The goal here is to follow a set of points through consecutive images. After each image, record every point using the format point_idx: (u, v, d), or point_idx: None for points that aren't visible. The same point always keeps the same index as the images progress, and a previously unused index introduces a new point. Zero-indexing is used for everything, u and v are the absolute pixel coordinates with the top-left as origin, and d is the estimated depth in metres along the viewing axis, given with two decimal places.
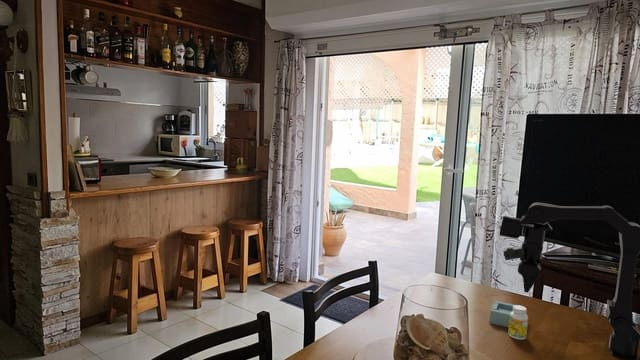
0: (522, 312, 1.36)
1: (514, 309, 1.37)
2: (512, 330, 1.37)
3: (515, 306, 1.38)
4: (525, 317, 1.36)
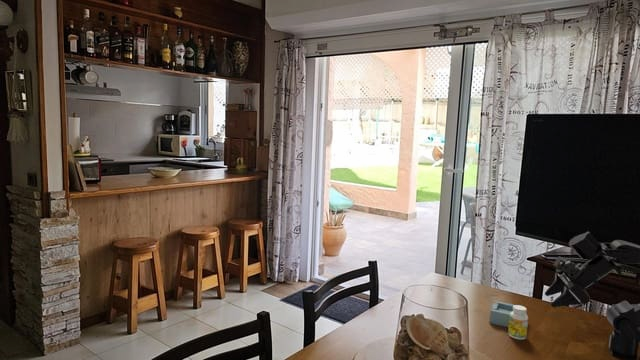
0: (522, 312, 1.36)
1: (514, 309, 1.37)
2: (512, 330, 1.37)
3: (515, 306, 1.38)
4: (525, 317, 1.36)
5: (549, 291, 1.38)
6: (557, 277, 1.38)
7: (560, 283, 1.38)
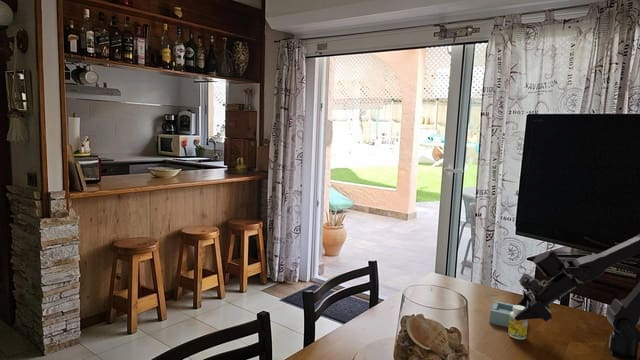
0: None
1: (514, 309, 1.37)
2: (512, 330, 1.37)
3: (515, 306, 1.38)
4: None
5: None
6: (524, 295, 1.40)
7: (527, 301, 1.40)
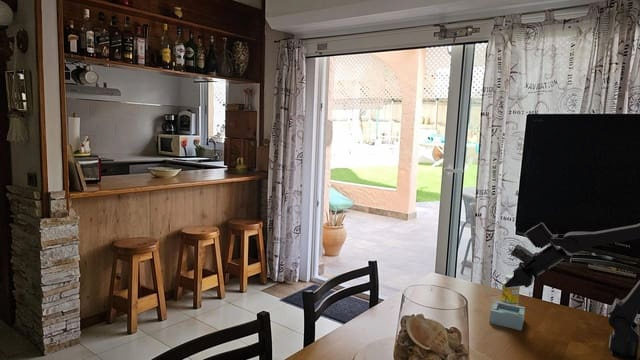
0: None
1: (505, 277, 1.47)
2: (503, 297, 1.47)
3: (508, 275, 1.47)
4: None
5: None
6: (519, 266, 1.48)
7: None
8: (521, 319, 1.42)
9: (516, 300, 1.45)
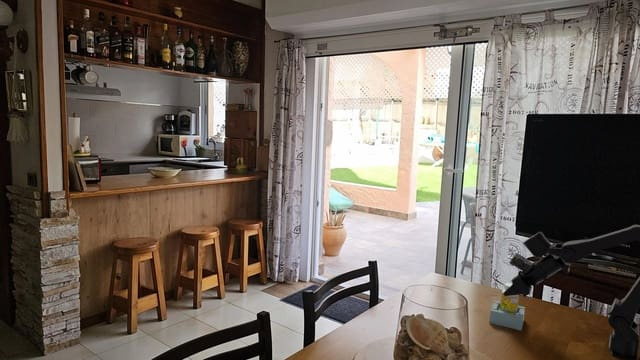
0: None
1: (504, 286, 1.48)
2: (502, 305, 1.48)
3: (507, 283, 1.49)
4: None
5: None
6: (518, 274, 1.49)
7: None
8: (521, 319, 1.42)
9: (515, 309, 1.46)
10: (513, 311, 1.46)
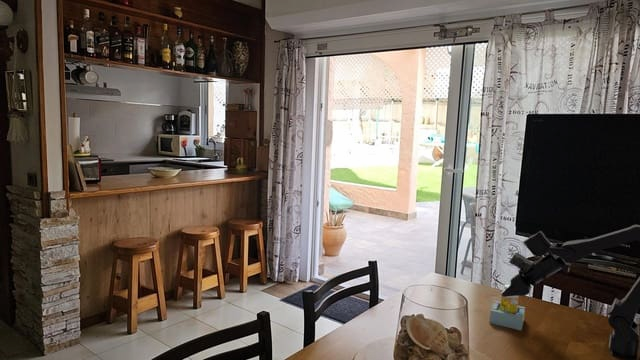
0: None
1: (504, 287, 1.48)
2: (501, 306, 1.48)
3: (507, 285, 1.49)
4: None
5: None
6: (519, 272, 1.50)
7: None
8: (521, 319, 1.42)
9: (515, 310, 1.46)
10: (513, 312, 1.46)
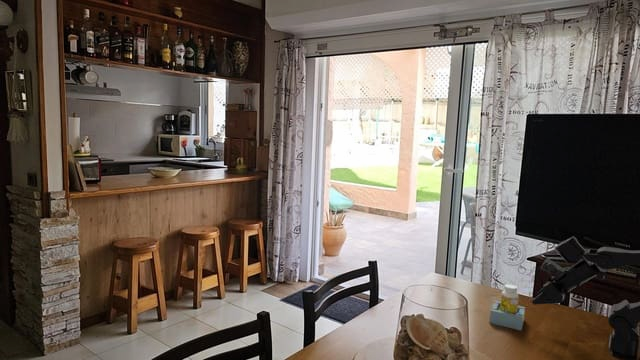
0: (511, 290, 1.46)
1: (504, 287, 1.48)
2: (501, 306, 1.48)
3: (507, 285, 1.49)
4: (514, 295, 1.46)
5: (541, 292, 1.46)
6: (549, 279, 1.45)
7: None
8: (521, 319, 1.42)
9: (515, 310, 1.46)
10: (513, 312, 1.46)
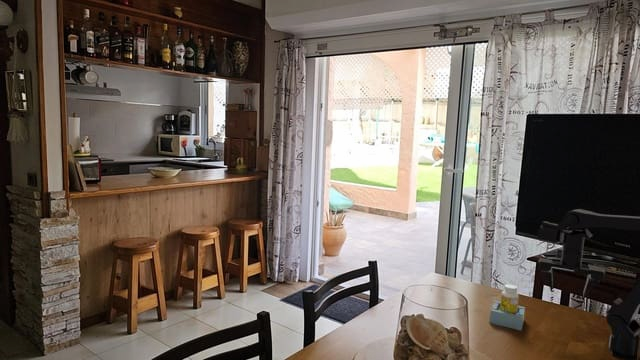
0: (511, 290, 1.46)
1: (504, 287, 1.48)
2: (501, 306, 1.48)
3: (507, 285, 1.49)
4: (514, 295, 1.46)
5: (583, 292, 1.39)
6: (587, 276, 1.40)
7: (587, 280, 1.38)
8: (521, 319, 1.42)
9: (515, 310, 1.46)
10: (513, 312, 1.46)
